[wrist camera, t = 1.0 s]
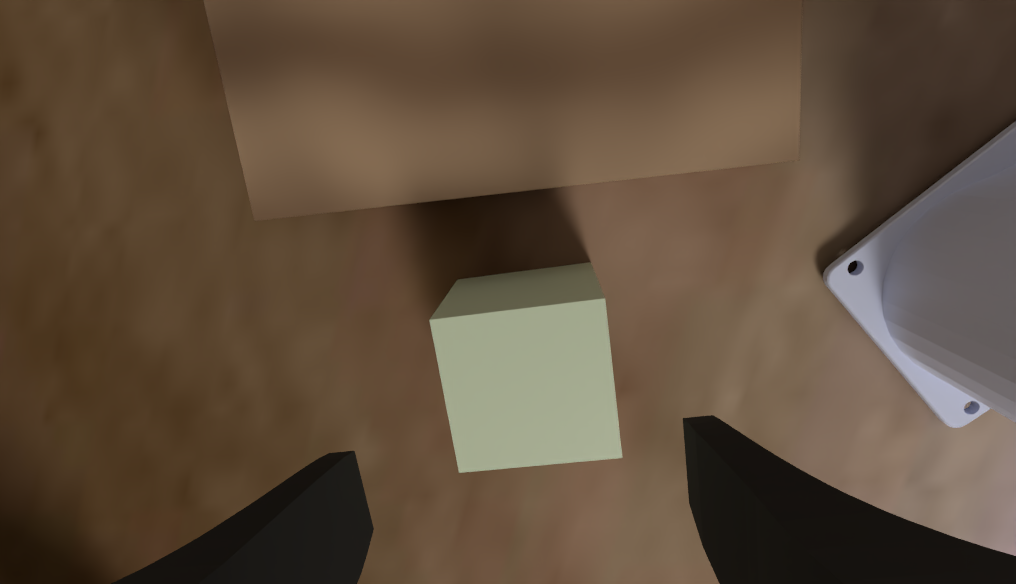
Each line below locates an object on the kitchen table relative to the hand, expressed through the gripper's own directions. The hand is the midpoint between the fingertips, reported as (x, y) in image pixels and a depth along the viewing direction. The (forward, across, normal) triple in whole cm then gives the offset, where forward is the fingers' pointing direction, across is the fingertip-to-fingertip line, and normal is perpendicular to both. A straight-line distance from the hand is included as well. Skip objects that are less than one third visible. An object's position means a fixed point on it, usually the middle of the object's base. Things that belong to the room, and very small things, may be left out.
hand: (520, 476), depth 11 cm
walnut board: (+9, 0, -10) cm, 14 cm away
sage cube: (+9, 0, 0) cm, 9 cm away
